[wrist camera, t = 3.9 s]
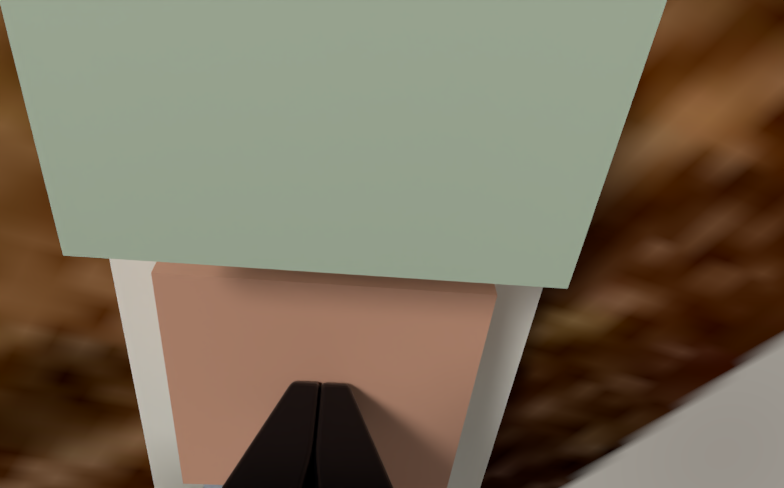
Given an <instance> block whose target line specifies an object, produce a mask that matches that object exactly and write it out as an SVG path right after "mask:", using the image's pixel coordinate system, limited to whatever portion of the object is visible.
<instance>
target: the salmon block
mask: <svg viewBox="0 0 784 488" xmlns="http://www.w3.org/2000/svg"><path fill="white" fill-rule="evenodd" d="M151 276H152V282H153V289H154V296H155V302H156V309H157V315H158V322H159V329H160V335H161V342H162V348H163V355H164V361H165V368H166V375H167V381H168V388H169V394H170V401H171V408H172V414H173V421H174V427H175V434H176V441H177V447H178V454H179V460H180V467H181V473H182V480H183V484H209V485H224V483H225V482H226V480H227V479H228V477H229V476H230V474H231V473H232V471H233V470H234V468H235V467H236V465H237V464H238V462H239V461H240V459H241V458H242V456H243V455H244V453H245V451H246V450H247V448H248V447H249V445H250V444H251V442H252V441H253V439H254V438H255V436H256V435H257V433H258V432H259V430H260V429H261V427H262V426H263V424H264V423H265V421H266V420H267V418H268V417H269V415H270V414H271V412H272V411H273V409H274V408H275V406H276V405H277V403H278V402H279V400H280V399H281V397H282V396H283V394H284V393H285V391H286V389H287V388H288V387H289V385H290V384H291V383H292V382H294V381H308V382H317V383H318V384H319V385H320V387H321V385H322V384H323V383H326V382H328V383H345V384H348V385H349V387H350V388H351V390H352V392H353V395H354V397H355V399H356V402H357V404H358V406H359V409H360V411H361V413H362V416H363V418H364V420H365V423H366V425H367V427H368V430H369V432H370V434H371V437H372V439H373V441H374V444H375V446H376V448H377V450H378V453H379V455H380V457H381V460H382V462H383V464H384V467H385V469H386V471H387V474H388V476H389V478H390V481H391V483H392V485H393V488H447V486H448V482H449V478H450V474H451V471H452V467H453V463H454V459H455V455H456V451H457V448H458V444H459V440H460V436H461V432H462V429H463V425H464V421H465V417H466V413H467V409H468V406H469V402H470V398H471V394H472V390H473V386H474V383H475V379H476V375H477V371H478V367H479V364H480V360H481V356H482V352H483V348H484V344H485V341H486V337H487V333H488V329H489V325H490V322H491V318H492V314H493V310H494V306H495V302H496V299H497V292H496V288H495V284H488V283H473V282H458V281H442V280H427V279H412V278H397V277H382V276H367V275H351V274H336V273H321V272H306V271H291V270H276V269H260V268H245V267H230V266H215V265H200V264H185V263H169V262H156V264H155V266H154V268H153V270H152V272H151Z"/></svg>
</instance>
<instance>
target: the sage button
mask: <svg viewBox="0 0 784 488" xmlns="http://www.w3.org/2000/svg"><path fill="white" fill-rule="evenodd" d="M666 1H667V0H0V5H1V9H2V13H3V17H4V21H5V25H6V29H7V33H8V37H9V41H10V45H11V49H12V53H13V57H14V61H15V65H16V69H17V73H18V77H19V81H20V85H21V89H22V93H23V97H24V101H25V105H26V109H27V113H28V117H29V121H30V125H31V129H32V133H33V137H34V141H35V145H36V149H37V153H38V157H39V161H40V165H41V169H42V173H43V177H44V181H45V185H46V189H47V193H48V197H49V201H50V205H51V209H52V213H53V217H54V221H55V225H56V229H57V233H58V237H59V241H60V245H61V249H62V253H63V256H78V257H94V258H109V259H124V260H139V261H154V262H169V263H185V264H200V265H215V266H230V267H245V268H260V269H276V270H291V271H306V272H321V273H336V274H351V275H367V276H382V277H397V278H412V279H427V280H442V281H458V282H473V283H488V284H503V285H518V286H533V287H549V288H564V289H568V286H569V284H570V281H571V278H572V275H573V272H574V269H575V266H576V263H577V260H578V257H579V254H580V252H581V249H582V246H583V243H584V240H585V237H586V234H587V231H588V228H589V225H590V222H591V220H592V217H593V214H594V211H595V208H596V205H597V202H598V199H599V196H600V193H601V190H602V188H603V185H604V182H605V179H606V176H607V173H608V170H609V167H610V164H611V161H612V158H613V156H614V153H615V150H616V147H617V144H618V141H619V138H620V135H621V132H622V129H623V126H624V124H625V121H626V118H627V115H628V112H629V109H630V106H631V103H632V100H633V97H634V95H635V92H636V89H637V86H638V83H639V80H640V77H641V74H642V71H643V68H644V65H645V63H646V60H647V57H648V54H649V51H650V48H651V45H652V42H653V39H654V36H655V33H656V31H657V28H658V25H659V22H660V19H661V16H662V13H663V10H664V7H665V4H666Z"/></svg>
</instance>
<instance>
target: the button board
mask: <svg viewBox="0 0 784 488" xmlns="http://www.w3.org/2000/svg"><path fill="white" fill-rule="evenodd" d="M155 264H156V262H154V261H139V260H124V259H110V265H111V270H112V275H113V280H114V285H115V290H116V295H117V300H118V305H119V310H120V315H121V320H122V325H123V330H124V335H125V340H126V346H127V351H128V356H129V361H130V366H131V371H132V376H133V381H134V386H135V391H136V396H137V401H138V406H139V411H140V416H141V421H142V427H143V432H144V437H145V442H146V447H147V452H148V457H149V462H150V467H151V472H152V477H153V482H154V487H155V488H203V487H204V484H183V480H182V473H181V467H180V460H179V454H178V447H177V441H176V434H175V427H174V421H173V414H172V408H171V401H170V394H169V388H168V381H167V375H166V368H165V361H164V355H163V348H162V342H161V335H160V329H159V322H158V315H157V309H156V302H155V296H154V289H153V282H152V276H151V272H152V270H153V268H154V266H155ZM495 288H496V292H497V299H496V302H495V306H494V310H493V314H492V318H491V322H490V325H489V329H488V333H487V337H486V341H485V344H484V348H483V352H482V356H481V360H480V364H479V367H478V371H477V375H476V379H475V383H474V386H473V390H472V394H471V398H470V402H469V406H468V409H467V413H466V417H465V421H464V425H463V429H462V432H461V436H460V440H459V444H458V448H457V451H456V455H455V459H454V463H453V467H452V471H451V474H450V478H449V482H448V486H447V488H480V487H481V484H482V480H483V477H484V474H485V471H486V468H487V464H488V461H489V458H490V455H491V452H492V448H493V445H494V442H495V439H496V436H497V433H498V429H499V426H500V423H501V420H502V417H503V413H504V410H505V407H506V404H507V401H508V397H509V394H510V391H511V388H512V385H513V382H514V378H515V375H516V372H517V369H518V366H519V362H520V359H521V356H522V353H523V350H524V346H525V343H526V340H527V337H528V334H529V331H530V327H531V324H532V321H533V318H534V315H535V311H536V308H537V305H538V302H539V299H540V296H541V292H542V289H543V287H533V286H518V285H503V284H495Z"/></svg>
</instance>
